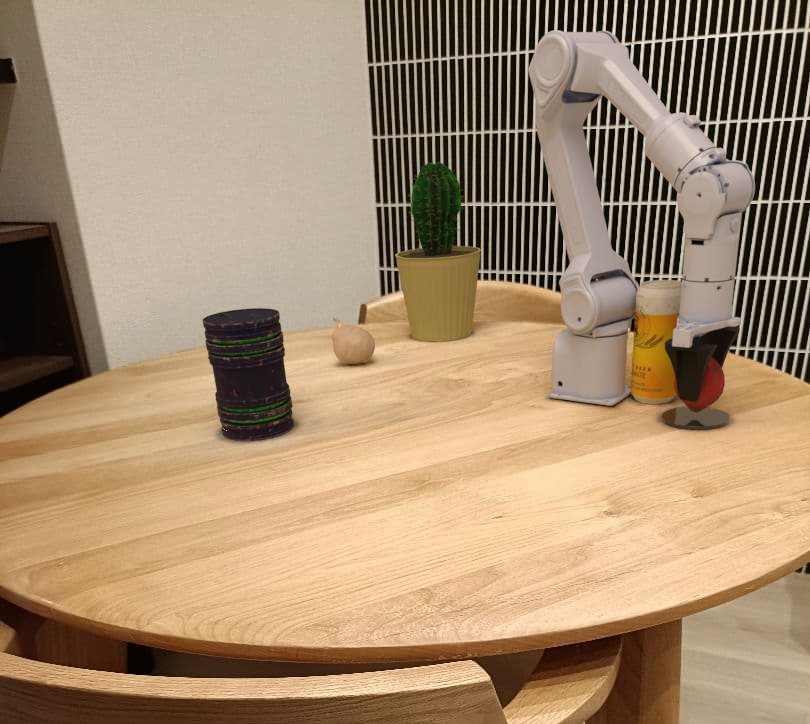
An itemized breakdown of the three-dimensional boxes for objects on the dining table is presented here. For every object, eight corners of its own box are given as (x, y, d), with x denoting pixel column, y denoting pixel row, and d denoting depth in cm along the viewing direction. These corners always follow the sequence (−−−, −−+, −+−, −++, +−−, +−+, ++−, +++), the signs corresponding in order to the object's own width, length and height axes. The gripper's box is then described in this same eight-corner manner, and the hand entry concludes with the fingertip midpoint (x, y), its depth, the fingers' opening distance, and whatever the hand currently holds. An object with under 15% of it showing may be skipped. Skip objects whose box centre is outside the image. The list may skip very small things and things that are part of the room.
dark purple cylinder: (308, 420, 112) (295, 308, 105) (269, 444, 104) (251, 325, 98) (248, 414, 116) (231, 307, 109) (206, 437, 108) (185, 323, 102)
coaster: (651, 424, 101) (651, 421, 101) (675, 406, 107) (675, 403, 107) (716, 433, 97) (716, 430, 96) (738, 414, 102) (738, 411, 102)
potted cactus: (394, 345, 148) (380, 163, 135) (407, 326, 162) (397, 159, 148) (479, 343, 145) (474, 157, 132) (485, 324, 159) (482, 153, 146)
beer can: (624, 393, 113) (630, 281, 106) (667, 390, 113) (676, 277, 106) (638, 406, 107) (646, 289, 101) (684, 402, 108) (694, 285, 101)
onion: (721, 405, 103) (728, 342, 99) (721, 420, 98) (728, 353, 94) (673, 404, 105) (678, 341, 101) (670, 418, 100) (675, 352, 96)
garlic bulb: (353, 357, 142) (348, 310, 138) (382, 360, 139) (378, 312, 135) (328, 366, 137) (323, 318, 134) (358, 370, 134) (353, 321, 130)
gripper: (722, 291, 87) (709, 414, 93) (763, 269, 97) (749, 381, 103) (658, 288, 91) (650, 406, 97) (703, 267, 101) (694, 375, 107)
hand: (697, 393), depth 100 cm, fingers closed on onion, 6 cm apart
